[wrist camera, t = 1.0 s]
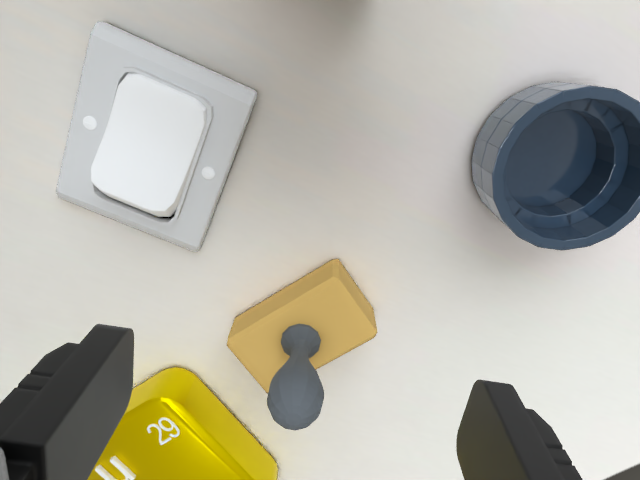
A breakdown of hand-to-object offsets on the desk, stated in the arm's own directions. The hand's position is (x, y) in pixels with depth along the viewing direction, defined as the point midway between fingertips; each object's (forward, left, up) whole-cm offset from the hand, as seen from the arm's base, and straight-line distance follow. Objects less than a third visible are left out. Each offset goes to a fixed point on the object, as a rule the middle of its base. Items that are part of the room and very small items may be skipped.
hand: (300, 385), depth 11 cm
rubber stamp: (+12, 0, -25) cm, 28 cm away
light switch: (0, -12, -25) cm, 28 cm away
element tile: (+28, -10, -25) cm, 39 cm away
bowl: (-3, +15, -25) cm, 29 cm away
